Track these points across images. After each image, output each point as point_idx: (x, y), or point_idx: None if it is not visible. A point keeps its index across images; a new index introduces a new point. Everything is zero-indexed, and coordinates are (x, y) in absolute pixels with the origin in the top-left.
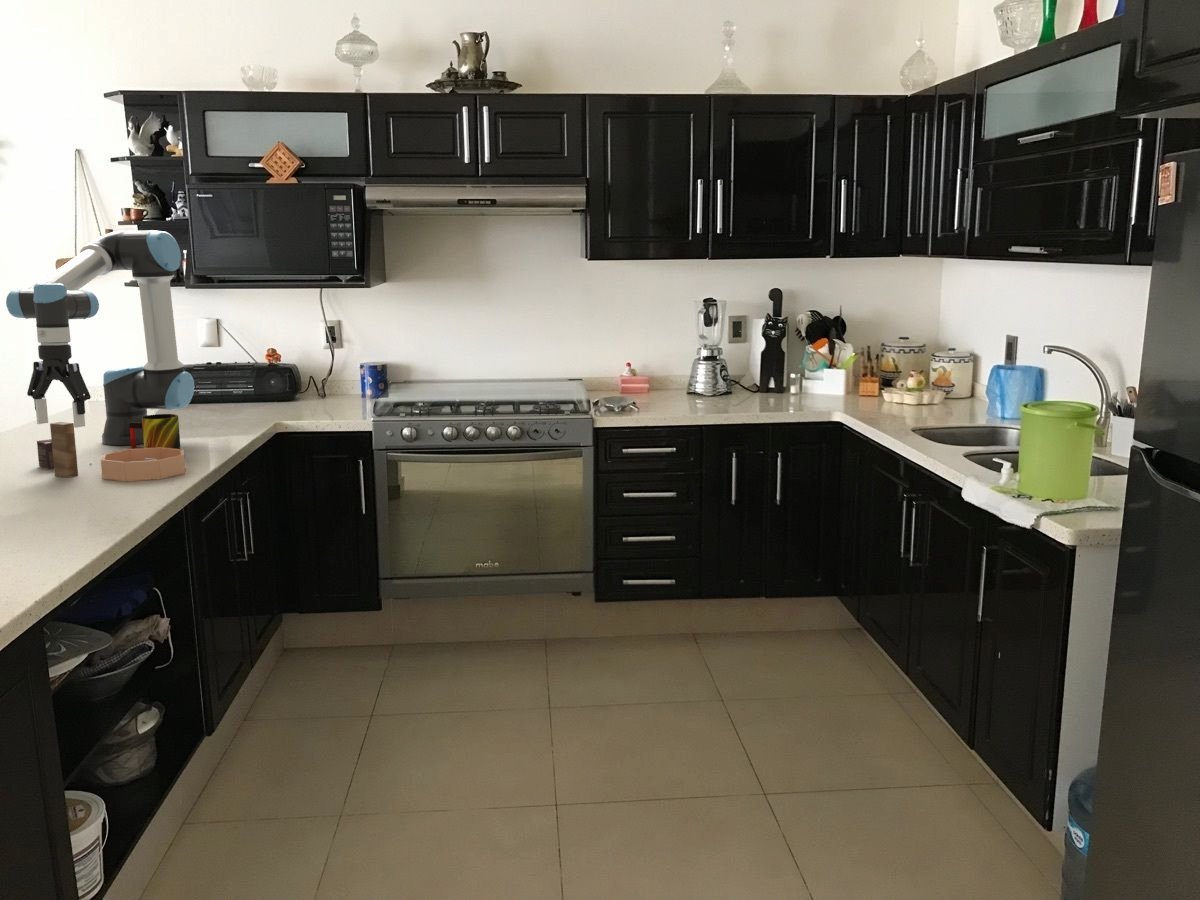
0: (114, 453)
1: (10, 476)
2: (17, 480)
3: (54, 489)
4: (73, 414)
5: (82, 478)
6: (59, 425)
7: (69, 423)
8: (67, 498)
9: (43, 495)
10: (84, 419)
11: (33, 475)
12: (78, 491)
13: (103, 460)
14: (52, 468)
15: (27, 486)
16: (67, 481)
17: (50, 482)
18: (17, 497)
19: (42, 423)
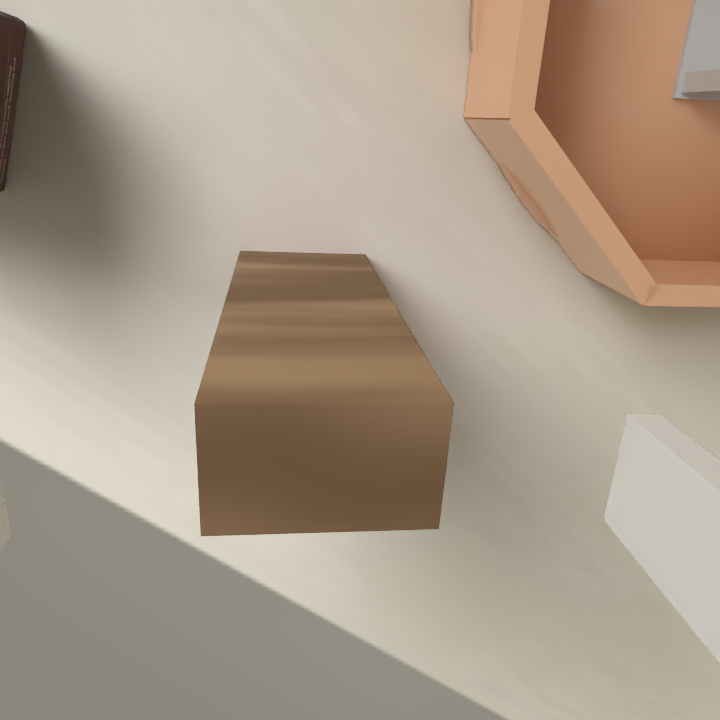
0: (545, 14)
1: (12, 440)
2: (162, 489)
3: (521, 537)
4: (699, 631)
5: (460, 310)
6: (367, 523)
7: (426, 440)
8: None
9: (562, 620)
10: (712, 458)
11: (109, 367)
12: None
13: (667, 305)
14: (6, 164)
15: (345, 550)
16: None
17: None
18: (487, 678)
19: (2, 495)
